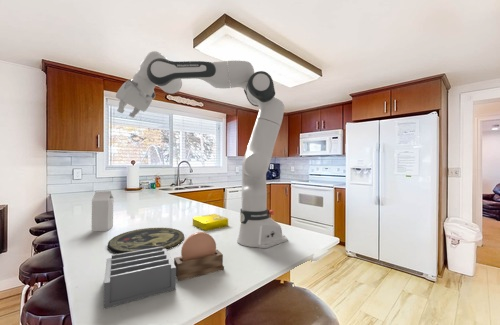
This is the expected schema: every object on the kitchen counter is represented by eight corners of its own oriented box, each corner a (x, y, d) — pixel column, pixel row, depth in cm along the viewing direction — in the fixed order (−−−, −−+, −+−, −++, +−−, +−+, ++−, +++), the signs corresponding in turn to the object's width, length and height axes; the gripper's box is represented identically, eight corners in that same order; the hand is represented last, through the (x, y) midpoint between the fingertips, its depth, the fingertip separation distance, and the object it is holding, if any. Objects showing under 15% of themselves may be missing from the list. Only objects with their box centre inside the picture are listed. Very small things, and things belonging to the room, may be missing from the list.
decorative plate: (88, 247, 85) (141, 225, 115) (88, 252, 85) (141, 228, 115) (158, 255, 80) (195, 229, 109) (158, 260, 80) (195, 233, 109)
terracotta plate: (214, 262, 75) (214, 229, 75) (215, 264, 74) (216, 230, 74) (180, 270, 70) (181, 234, 70) (181, 272, 68) (182, 236, 68)
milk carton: (108, 230, 110) (108, 192, 110) (91, 231, 108) (91, 192, 108) (113, 226, 117) (113, 190, 117) (97, 227, 115) (97, 190, 115)
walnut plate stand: (215, 261, 78) (216, 248, 78) (223, 269, 72) (224, 255, 72) (173, 270, 71) (173, 256, 71) (178, 281, 65) (178, 265, 65)
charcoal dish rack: (165, 266, 74) (165, 245, 74) (175, 289, 61) (176, 263, 61) (106, 279, 65) (106, 255, 65) (103, 308, 53) (104, 279, 53)
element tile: (214, 220, 133) (214, 212, 133) (229, 226, 121) (229, 217, 121) (191, 225, 123) (191, 216, 123) (205, 232, 112) (205, 222, 112)
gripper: (136, 82, 86) (118, 113, 86) (157, 97, 107) (142, 122, 107) (122, 73, 86) (104, 104, 86) (145, 90, 107) (130, 115, 106)
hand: (125, 114), depth 96 cm, fingers open, 8 cm apart
